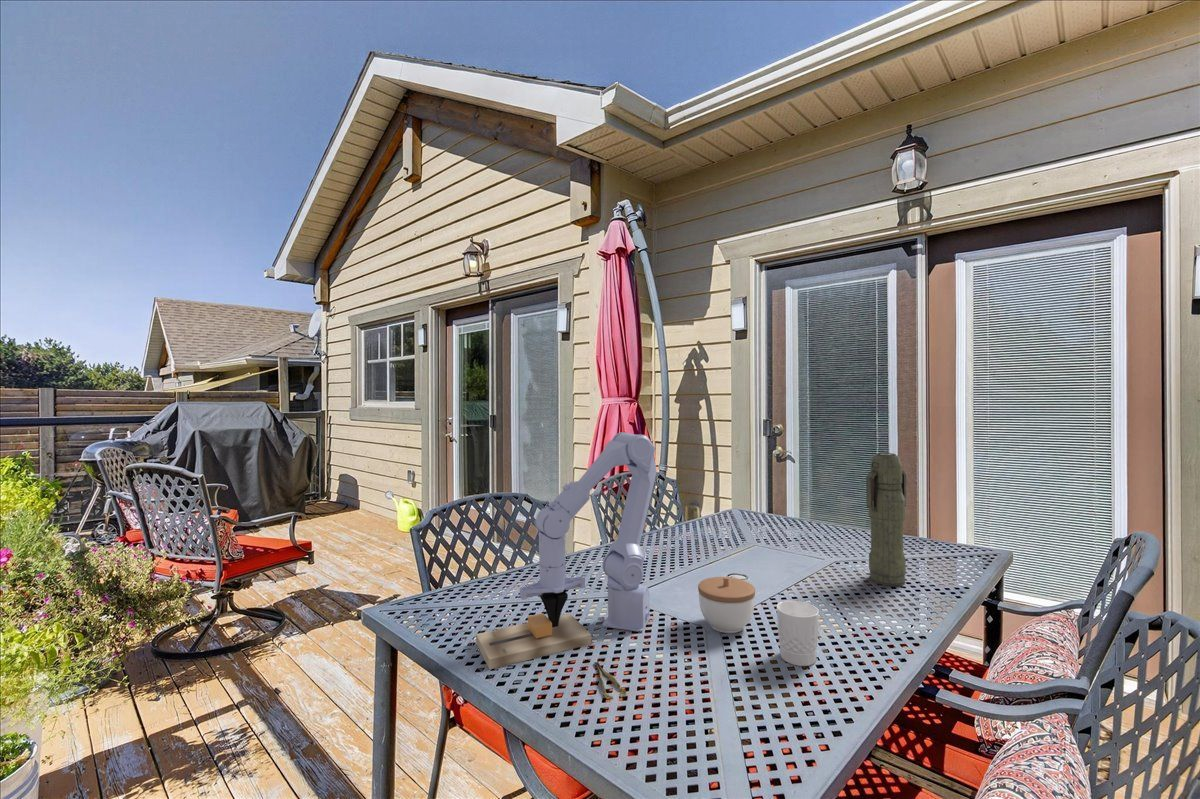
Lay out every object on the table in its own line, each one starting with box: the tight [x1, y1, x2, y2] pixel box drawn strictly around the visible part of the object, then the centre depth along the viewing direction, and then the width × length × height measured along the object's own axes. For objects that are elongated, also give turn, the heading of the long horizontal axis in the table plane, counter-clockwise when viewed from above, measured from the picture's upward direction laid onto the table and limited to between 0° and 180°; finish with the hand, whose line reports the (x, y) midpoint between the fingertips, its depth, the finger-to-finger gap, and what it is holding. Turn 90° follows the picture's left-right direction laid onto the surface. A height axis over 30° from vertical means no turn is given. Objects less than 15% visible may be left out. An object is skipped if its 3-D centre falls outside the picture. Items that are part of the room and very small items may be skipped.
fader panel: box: [475, 613, 592, 670], centre depth 113 cm, size 22×12×2 cm, turn 115°
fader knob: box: [527, 612, 552, 638], centre depth 114 cm, size 4×6×2 cm, turn 25°
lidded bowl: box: [697, 576, 756, 634], centre depth 120 cm, size 13×13×11 cm
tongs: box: [594, 661, 627, 700], centre depth 99 cm, size 4×13×2 cm, turn 22°
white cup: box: [776, 600, 820, 667], centre depth 105 cm, size 8×8×10 cm
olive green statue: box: [865, 452, 907, 587], centre depth 145 cm, size 9×12×35 cm
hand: (553, 625), depth 115 cm, fingers closed
